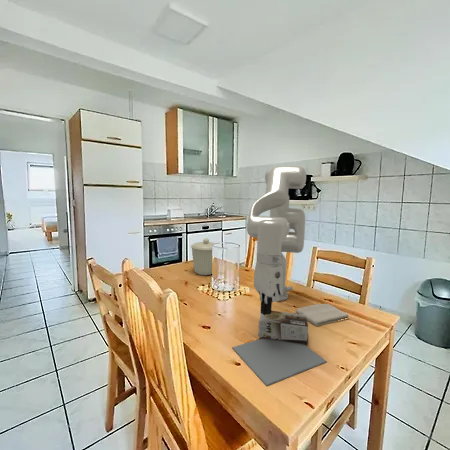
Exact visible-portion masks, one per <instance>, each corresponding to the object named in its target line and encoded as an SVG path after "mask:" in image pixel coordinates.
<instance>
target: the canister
mask: <svg viewBox="0 0 450 450" xmlns="http://www.w3.org/2000/svg"><path fill="white" fill-rule="evenodd" d="M214 244H218V243H216V242H214V241H213V242H211V241H210V239H208V238H204V239H203V240H202V241H199V242H195V243H192V244H191V245H190V248H191V252H192V263H193V270H194V272H195V273H196V274H197V275H199V276H211V274H212V245H214ZM212 275H213V274H212Z"/></svg>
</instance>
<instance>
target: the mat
mask: <svg viewBox="0 0 450 450" xmlns="http://www.w3.org/2000/svg"><path fill="white" fill-rule="evenodd" d="M232 350H234V352H235V353H236V354H237V355H238V356H239V358H241V360H242V361H243V362H244V363H245V365H247V367H248V368H249V369H250V370H251V371H252V372H253V373H254V374H255V376H257V377H258V378H259V380H260V381H261V382H262V383H263V384H264V386H266V387H269V386H271V385H273V384H275V383H278V382H280V381H282V380H286V379H288V378H291V377H293V376H296V375H298V374H301V373H303V372H306V371H308V370H311V369H313V368H317V367H319V366H321V365H323V363H324V364H326V363H327V360H326V359H324V357H321V356H320V355H319V354H318V353H317V352H315V351H313V350H312V349H311V348H309V346H307V345H306V344H302V343H295V342H288V341H281V340H274V339H268V338H259V339H256V340H252V341H250V342H249V341H248V342H246V343H243V344H239V345H235V346H232Z"/></svg>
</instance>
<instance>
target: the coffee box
mask: <svg viewBox="0 0 450 450" xmlns="http://www.w3.org/2000/svg"><path fill="white" fill-rule="evenodd" d="M257 336H258V338H260V339H262V338H268V339H274V340H281V341H288V342H295V343H302V344H304V345H308V343H309V324H308V321H307V318H306V315H304V314H297V313H296V312H286V311H285V312H284V311H277V310H271V313H270V314H267V315H263V314H262V313H261V312H260V316H259V319H258V335H257Z"/></svg>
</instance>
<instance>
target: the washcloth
mask: <svg viewBox="0 0 450 450" xmlns="http://www.w3.org/2000/svg"><path fill="white" fill-rule="evenodd" d="M295 314H304V315H306V318H307V322H309V323H310V324H312V325H313V326H315V327H319V326H325V325H329V324H328V323H330V324H332V322H333V323H336V322H335V321H338V320H341V319H345V318H348V319H349V314H348V312H345V311H342V310H341V309H339V308H338V307H335V306H334V305H331V304H330V303H322V304H321V303H316V304H312V305H307V306H303V307H299V308H297V309H296V311H295ZM338 322H339V321H338ZM324 324H325V325H324Z"/></svg>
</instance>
